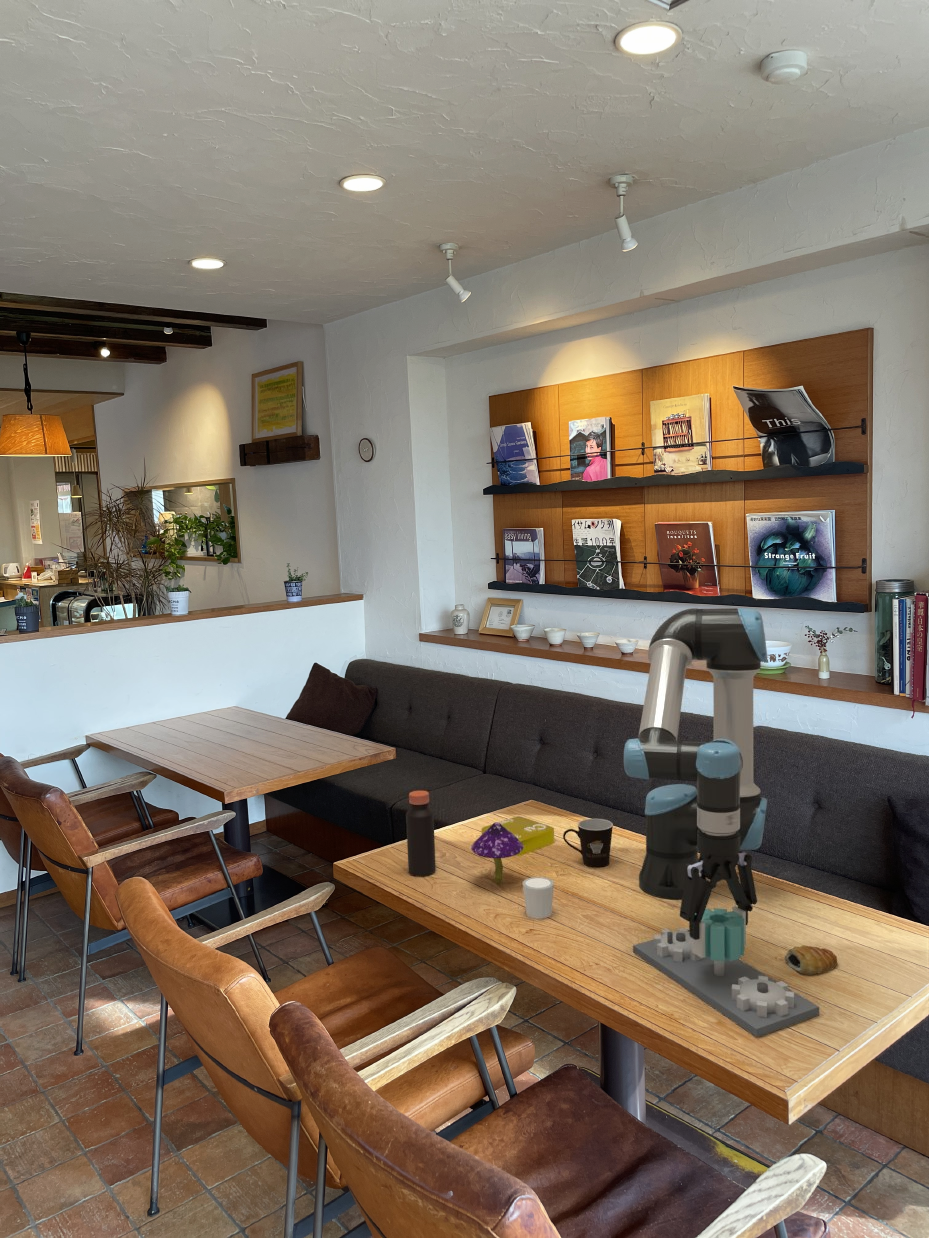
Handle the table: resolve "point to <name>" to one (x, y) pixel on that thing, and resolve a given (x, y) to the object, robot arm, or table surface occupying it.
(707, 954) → the idler gear
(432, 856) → the bottle
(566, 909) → the table surface
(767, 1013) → the gear board
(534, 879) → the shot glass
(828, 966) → the pastry
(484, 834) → the decorative mushroom
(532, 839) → the element tile
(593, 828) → the coffee mug
